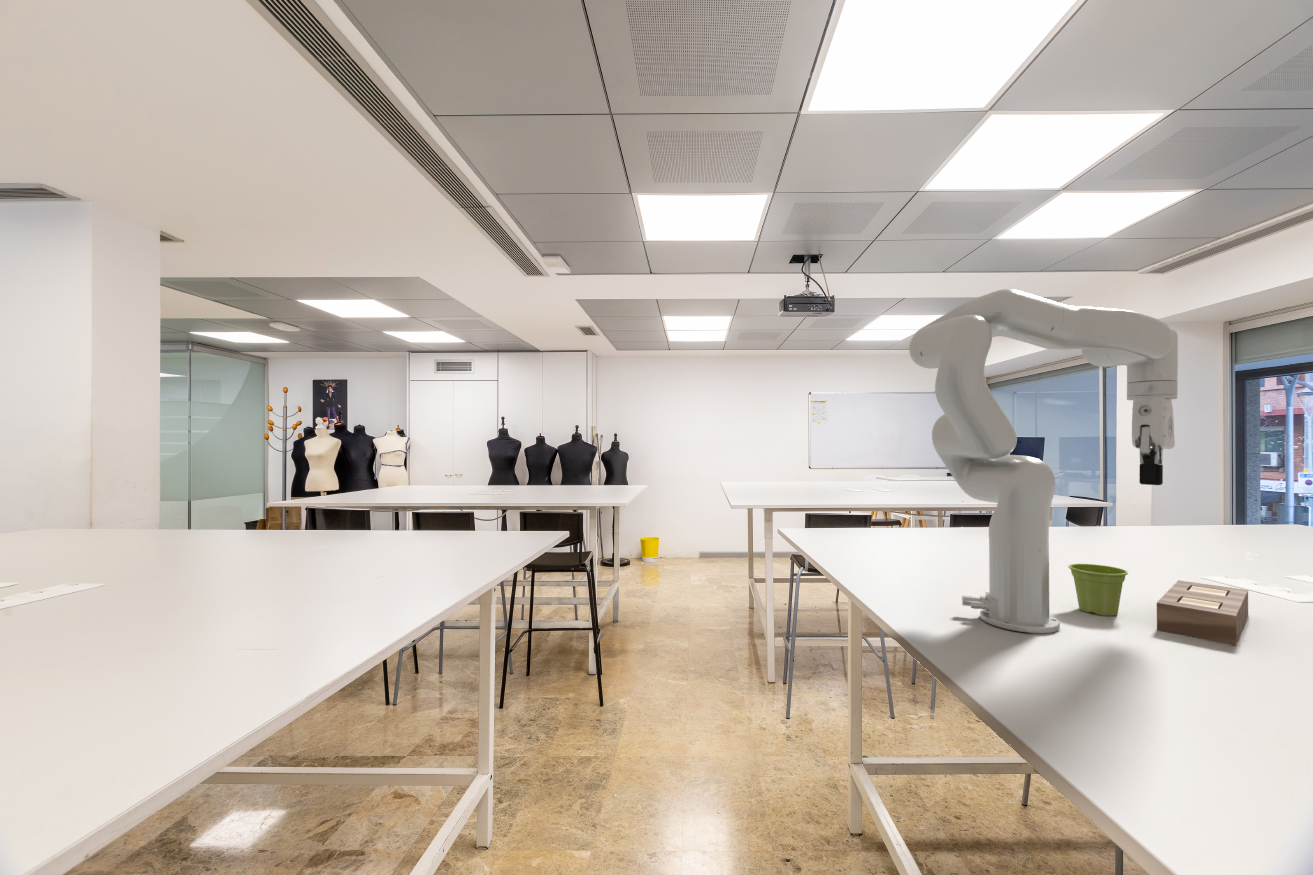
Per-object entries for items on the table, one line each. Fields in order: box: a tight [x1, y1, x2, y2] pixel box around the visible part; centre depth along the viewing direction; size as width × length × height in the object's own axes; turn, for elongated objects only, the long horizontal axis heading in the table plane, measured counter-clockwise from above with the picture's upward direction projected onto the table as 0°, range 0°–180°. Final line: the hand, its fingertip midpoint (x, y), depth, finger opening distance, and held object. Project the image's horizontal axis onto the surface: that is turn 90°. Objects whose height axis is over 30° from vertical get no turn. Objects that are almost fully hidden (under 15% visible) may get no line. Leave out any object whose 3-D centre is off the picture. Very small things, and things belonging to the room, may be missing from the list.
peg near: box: [1179, 597, 1221, 609], centre depth 101 cm, size 5×5×5 cm
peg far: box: [1189, 586, 1228, 596], centre depth 109 cm, size 5×5×5 cm
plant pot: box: [1068, 563, 1129, 617], centre depth 112 cm, size 9×9×9 cm
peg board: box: [1156, 579, 1249, 646], centre depth 105 cm, size 24×10×5 cm, turn 130°
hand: (1150, 484), depth 110 cm, fingers closed
